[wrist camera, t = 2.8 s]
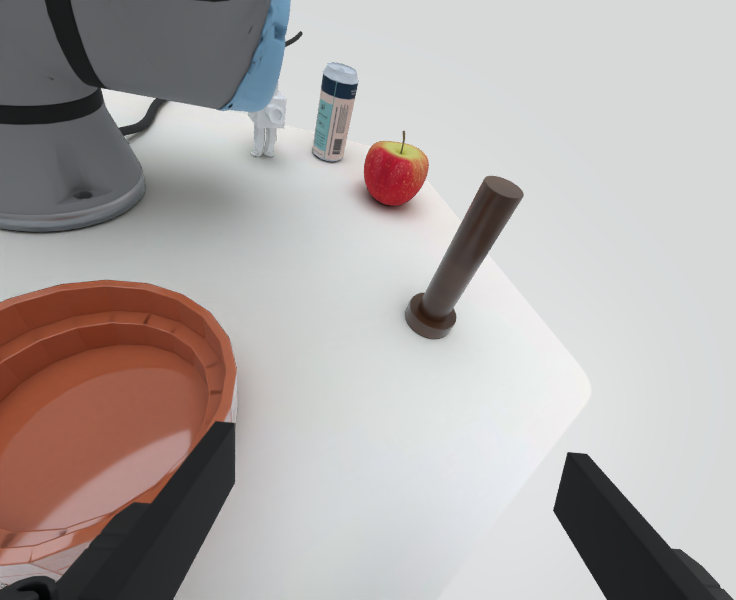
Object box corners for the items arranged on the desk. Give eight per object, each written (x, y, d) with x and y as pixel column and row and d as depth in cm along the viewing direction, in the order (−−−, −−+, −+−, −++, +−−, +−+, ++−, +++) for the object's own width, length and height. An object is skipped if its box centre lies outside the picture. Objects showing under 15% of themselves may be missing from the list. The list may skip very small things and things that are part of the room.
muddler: (401, 300, 37) (464, 164, 26) (443, 304, 38) (519, 175, 28) (410, 337, 34) (486, 199, 23) (455, 340, 35) (547, 210, 24)
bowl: (24, 325, 25) (-16, 268, 21) (248, 337, 29) (248, 291, 25) (-167, 605, 15) (-307, 592, 11) (216, 566, 19) (209, 547, 15)
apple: (346, 197, 48) (364, 121, 41) (373, 177, 54) (392, 107, 47) (400, 224, 47) (428, 151, 40) (421, 200, 53) (449, 133, 46)
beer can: (345, 154, 57) (363, 70, 48) (338, 167, 53) (355, 78, 45) (316, 145, 56) (329, 58, 48) (307, 156, 53) (319, 65, 45)
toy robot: (260, 171, 47) (264, 69, 39) (241, 143, 51) (241, 45, 42) (288, 170, 49) (297, 73, 41) (268, 143, 53) (273, 49, 44)
